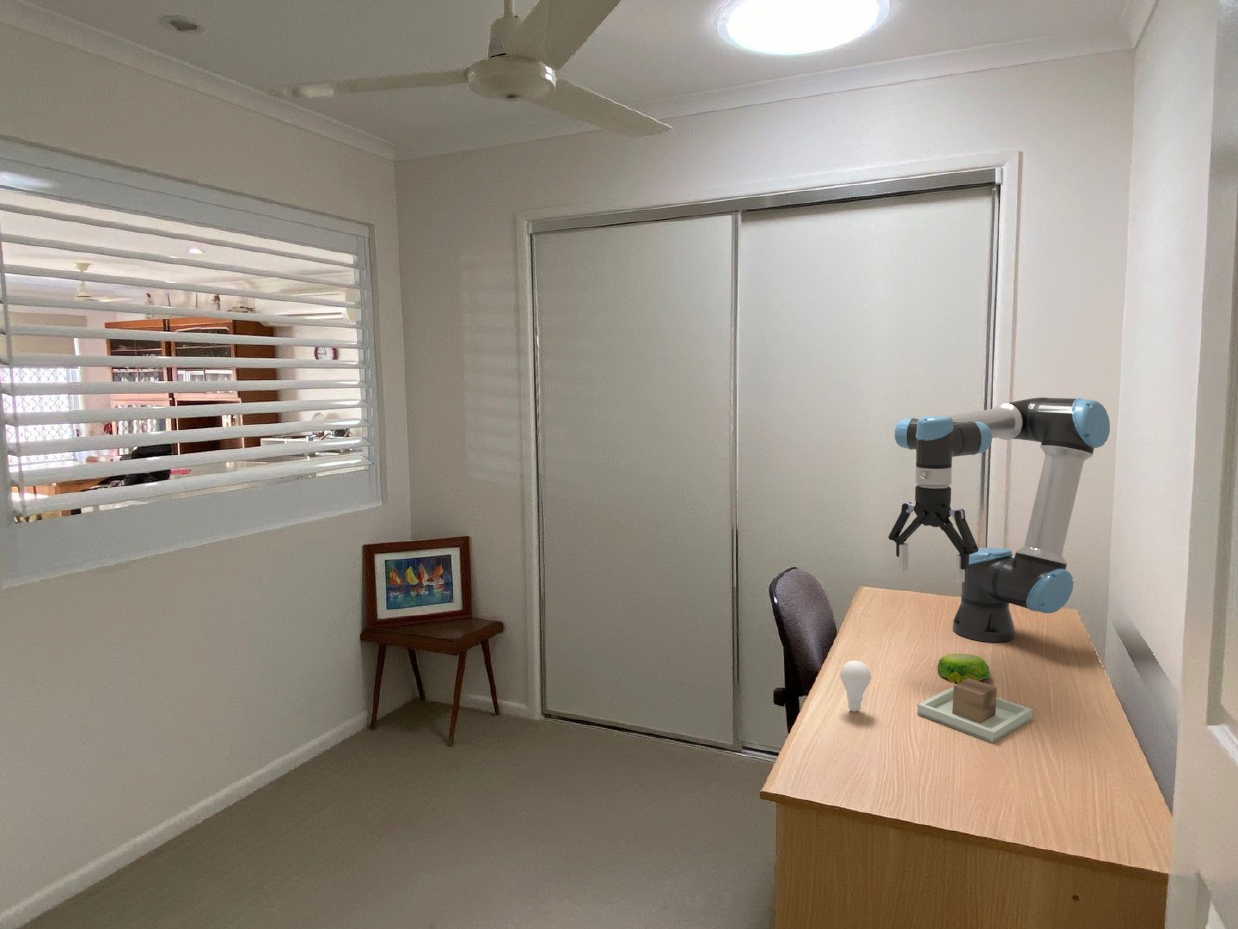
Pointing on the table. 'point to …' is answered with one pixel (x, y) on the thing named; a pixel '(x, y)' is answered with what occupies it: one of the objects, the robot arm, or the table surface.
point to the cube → (974, 700)
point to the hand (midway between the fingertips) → (930, 576)
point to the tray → (990, 730)
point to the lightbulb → (855, 682)
